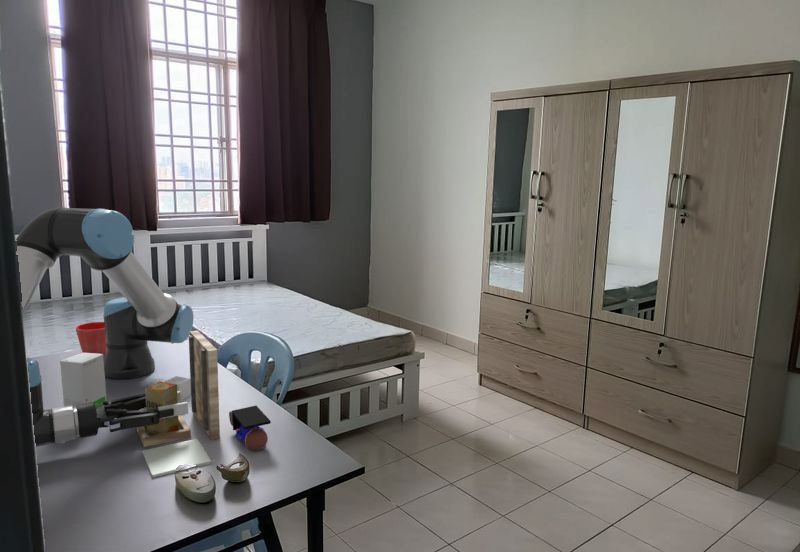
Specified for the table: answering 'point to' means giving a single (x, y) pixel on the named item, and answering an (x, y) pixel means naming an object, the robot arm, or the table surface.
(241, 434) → the figurine character
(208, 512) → the table surface
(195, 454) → the sage mat
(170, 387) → the shoe polish box
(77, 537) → the table surface
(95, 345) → the flower pot
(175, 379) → the white cube
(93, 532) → the table surface
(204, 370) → the board
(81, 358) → the skincare box
